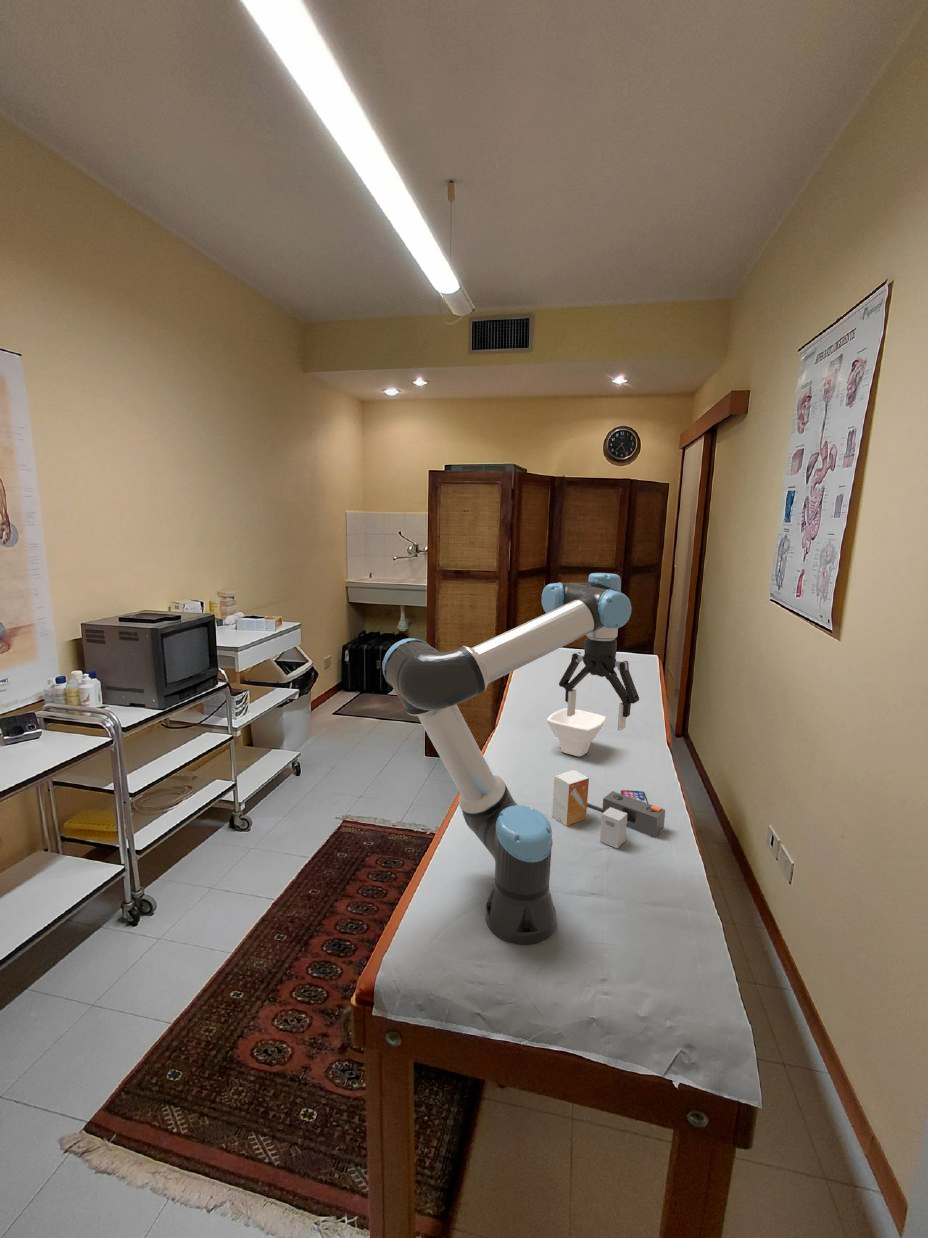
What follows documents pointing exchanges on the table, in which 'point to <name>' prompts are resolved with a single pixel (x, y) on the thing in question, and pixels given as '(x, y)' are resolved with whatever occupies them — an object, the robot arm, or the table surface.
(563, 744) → the bowl
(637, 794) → the smartphone
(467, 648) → the robot arm
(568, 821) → the small box
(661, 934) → the table surface
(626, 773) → the table surface
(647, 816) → the power strip
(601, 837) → the block
